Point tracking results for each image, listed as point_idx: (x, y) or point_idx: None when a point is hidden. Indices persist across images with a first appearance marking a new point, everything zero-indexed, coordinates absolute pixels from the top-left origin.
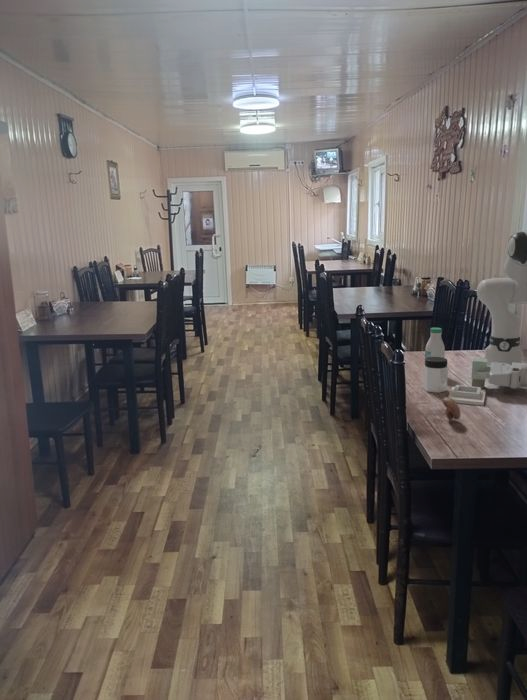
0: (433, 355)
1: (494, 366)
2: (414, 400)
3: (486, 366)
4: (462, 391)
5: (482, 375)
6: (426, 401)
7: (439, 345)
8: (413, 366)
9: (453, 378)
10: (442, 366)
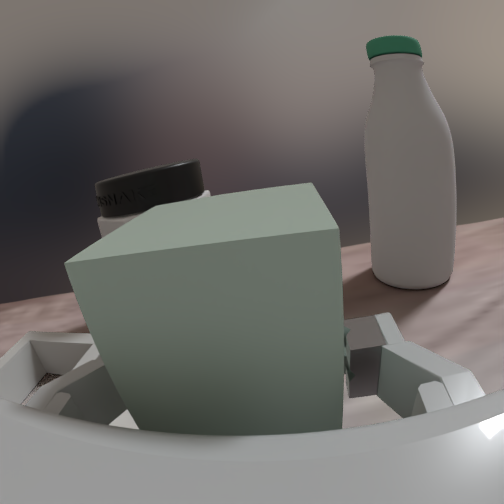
0: (367, 168)
1: (347, 492)
2: (71, 296)
3: (113, 343)
4: (15, 352)
5: (94, 398)
6: (54, 313)
7: (382, 115)
8: (466, 227)
9: (427, 323)
10: (100, 208)
